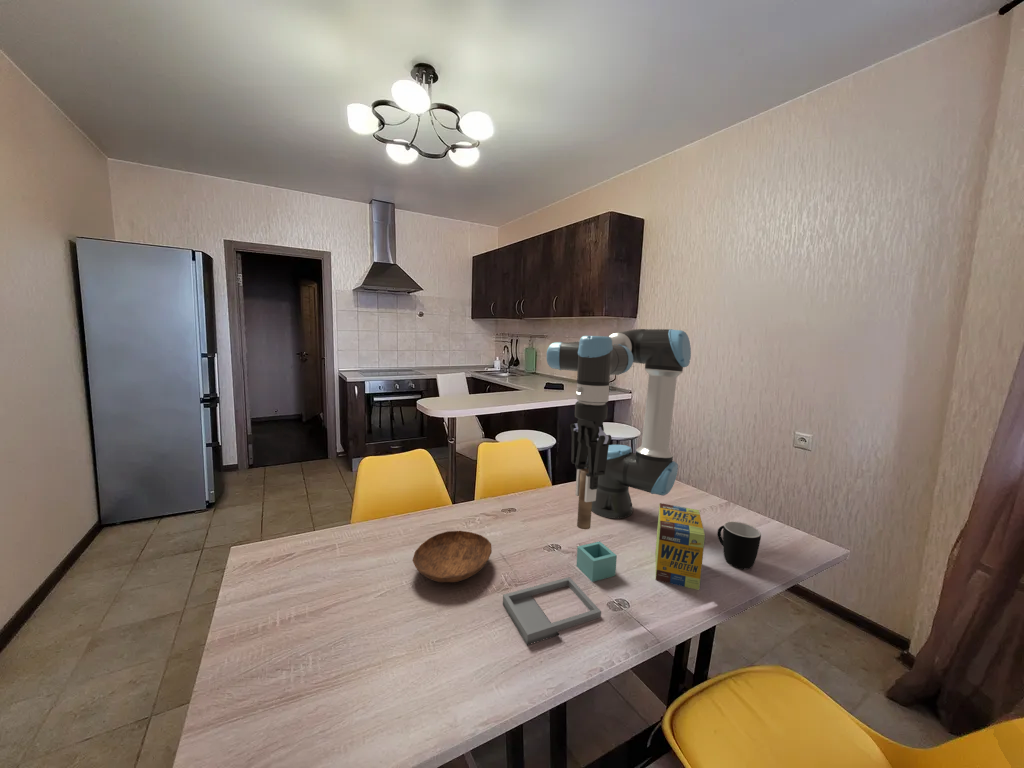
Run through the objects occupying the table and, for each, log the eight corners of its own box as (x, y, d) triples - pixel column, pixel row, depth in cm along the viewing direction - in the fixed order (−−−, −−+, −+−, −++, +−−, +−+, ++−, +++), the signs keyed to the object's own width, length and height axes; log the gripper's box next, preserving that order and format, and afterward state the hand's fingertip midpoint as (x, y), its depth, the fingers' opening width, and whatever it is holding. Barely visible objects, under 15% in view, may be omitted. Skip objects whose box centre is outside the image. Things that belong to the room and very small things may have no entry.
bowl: (502, 554, 112) (502, 538, 111) (469, 604, 91) (469, 585, 90) (441, 541, 118) (441, 525, 117) (397, 585, 97) (396, 566, 97)
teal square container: (576, 569, 105) (577, 546, 104) (598, 563, 108) (599, 541, 107) (591, 585, 99) (593, 561, 98) (615, 579, 102) (616, 555, 101)
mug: (764, 569, 108) (769, 534, 106) (739, 575, 105) (743, 539, 103) (728, 546, 119) (731, 514, 118) (704, 551, 116) (708, 518, 115)
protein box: (654, 584, 100) (659, 526, 98) (655, 552, 115) (659, 502, 112) (699, 594, 97) (705, 535, 95) (694, 560, 111) (699, 508, 109)
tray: (502, 604, 91) (503, 594, 91) (569, 585, 99) (569, 576, 98) (527, 645, 80) (527, 634, 79) (600, 621, 87) (601, 611, 87)
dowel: (574, 524, 97) (577, 469, 95) (585, 522, 98) (588, 468, 96) (581, 530, 94) (585, 473, 92) (593, 528, 95) (596, 472, 93)
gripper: (560, 397, 98) (555, 487, 101) (599, 409, 83) (592, 514, 86) (585, 396, 101) (579, 484, 104) (627, 407, 86) (619, 509, 89)
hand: (585, 497), depth 95 cm, fingers closed on dowel, 3 cm apart
